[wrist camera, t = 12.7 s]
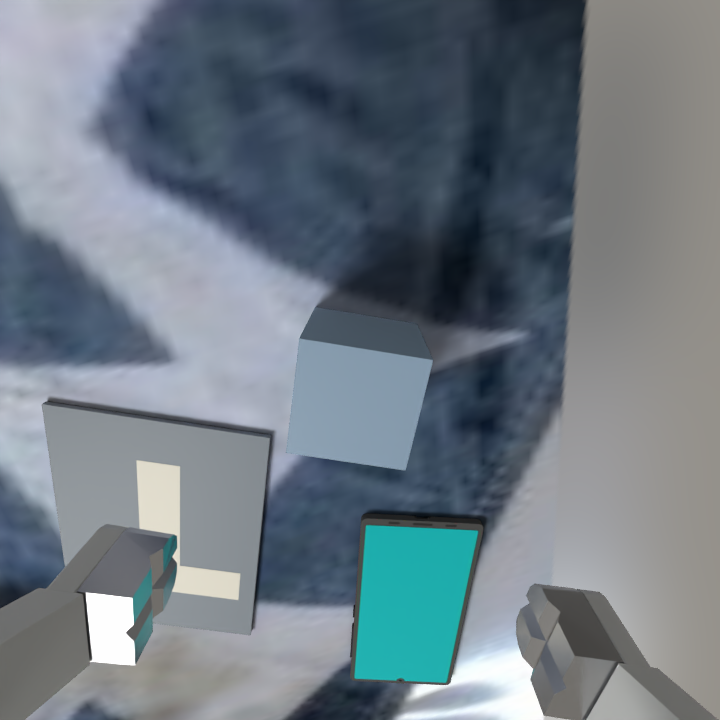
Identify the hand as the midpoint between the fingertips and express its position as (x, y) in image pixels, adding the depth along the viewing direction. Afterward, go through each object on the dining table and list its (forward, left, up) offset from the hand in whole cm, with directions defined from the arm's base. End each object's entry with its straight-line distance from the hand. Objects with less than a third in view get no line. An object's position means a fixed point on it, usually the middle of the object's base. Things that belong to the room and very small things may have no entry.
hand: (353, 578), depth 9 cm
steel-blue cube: (-1, 0, -12) cm, 12 cm away
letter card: (+12, -10, -12) cm, 20 cm away
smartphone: (+16, +6, -13) cm, 21 cm away
